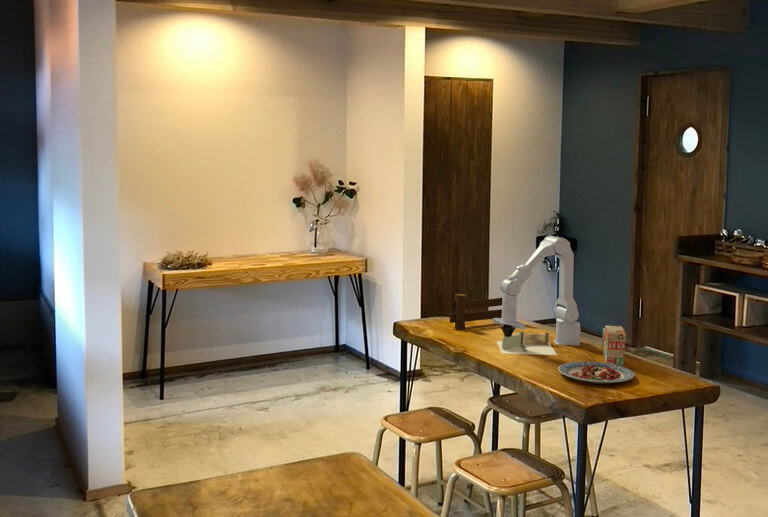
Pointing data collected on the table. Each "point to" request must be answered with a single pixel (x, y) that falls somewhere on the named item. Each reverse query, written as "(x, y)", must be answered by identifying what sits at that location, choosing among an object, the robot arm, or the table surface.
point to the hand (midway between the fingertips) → (507, 344)
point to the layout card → (528, 349)
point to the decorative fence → (473, 316)
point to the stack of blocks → (613, 344)
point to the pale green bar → (511, 341)
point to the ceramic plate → (596, 372)
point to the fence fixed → (534, 338)
